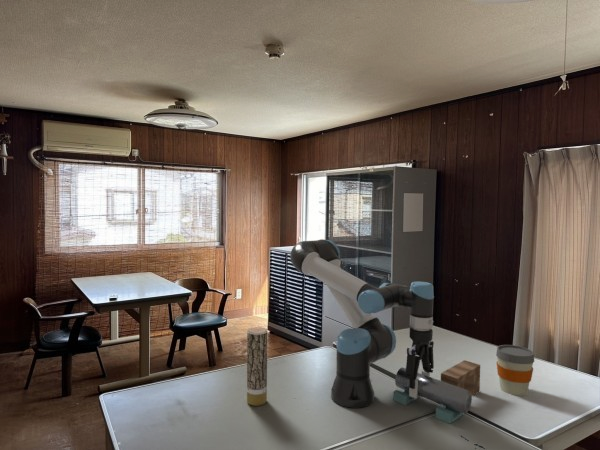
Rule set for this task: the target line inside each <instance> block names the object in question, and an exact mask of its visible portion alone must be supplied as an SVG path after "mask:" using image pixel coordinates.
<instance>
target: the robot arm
mask: <svg viewBox="0 0 600 450" xmlns="http://www.w3.org/2000/svg"><path fill="white" fill-rule="evenodd" d="M340 253H341V252H340V249H339V247H338V246H337V244H336V243H335V242H333V241H332V240H330V239H323V238H322V239H317V240H303V241H299V242H298V243H296V244H294V245H293V247H292V249H291V252H290V256H289V257H290V262H291V264H292V266H293V267H294V269H295V270H297V271H298V272H300V273H301V274H303V275H306V276H312V277H314V278H316V279H317V280H319V281H320V282H322V283H323V284H326V286H327V287H328V289H329V291H330V293H331V294H332V295H333V298H335V301H336V302H337V304H338V306H339V307H340V309H341V310H342V312H343V313H344V315H345V317H346V319H347V321H348V322H349V324H350V325H351V327H352V328H346V329H343V330H342V331H340V332H339V333H338V335H337V338H336V340H337V341H336V372H335V373H336V374H335V378H334V381H333V384H332V387H331V388H330V389H331V391H330V398H331V400H332V402H334V403H335V404H336V405H338V406H341V407H346V408H350V409H351V408H352V409H360V408H365V407H369V406H370V405H372V404H373V403H374V401H375V391H374V389H373V384H372V381H371V377H370V375H371V373H370V371H371V364H373V363H375V362H377V361H379V360H382V359H385V358H387V357H388V356H390V355H391V354H392V353H393V352H394V351H395V349H396V346H397V338H396V337H397V336H396V334H395V332H394V330H393V328H391V327H390V326H389V325H388V324H385V323H382V322H381V320H380V319H379V318H378V316H374V315H372V314H376V313H379V312H382V311H385V310H387V309H391V308H394V307H401V308H406V309H409V326H410V327H409V338H410V340H412V344H411V347H410V348H409V347H407V348H406V355H407V356H406V364H405V368H406V374H405V377H407V378H409V396H410V397H413V398H415V400H417V399H418V398H417V395H418V379H416V378H417V373H419V369H420V368H419V367H420V363H421V364H422V370H421V374H423V375H426V376H429V377H431V376H430V375H431V374H432V373H434V372H433V371H434V368H435V367H434V344H435V343H434V341H433V334H434V333H433V332H434V331H433V324H434V298H435V296H434V295H435V294H434V285H433V284H432V283H430V282H426V281H412V282H411V284H410V286H408V285H403V284H399V283H398V284H397V283H394V282H391V283H390V282H384V283H382V284H381V285H380V286H379V287H375V286H373V285H372V284H370V283H369V282H366V281H364V280H363V279H361V278H359V277H357V276H355V275H353V274H351V273H350V272H348V271H346V270H344V269H342V268H341V264H342V263H341V262H342V261H341V255H340Z"/></svg>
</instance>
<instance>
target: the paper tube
mask: <svg viewBox="0 0 600 450" xmlns="http://www.w3.org/2000/svg"><path fill="white" fill-rule="evenodd" d="M246 333H247V334H246V335H247V336H246V338H247V340H246V341H247V345H246V346H247V348H246V357H247V358H246V402H247V403H248V405H250V406H253V407H255V406H256V407H258V406H259V407H260V406H263V405H264V404H266V402H267V398H268V397H267V395H268V329H267V328H265V327H261V326H258V327H257V326H256V327H250V328H248V329H247V332H246Z"/></svg>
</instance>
